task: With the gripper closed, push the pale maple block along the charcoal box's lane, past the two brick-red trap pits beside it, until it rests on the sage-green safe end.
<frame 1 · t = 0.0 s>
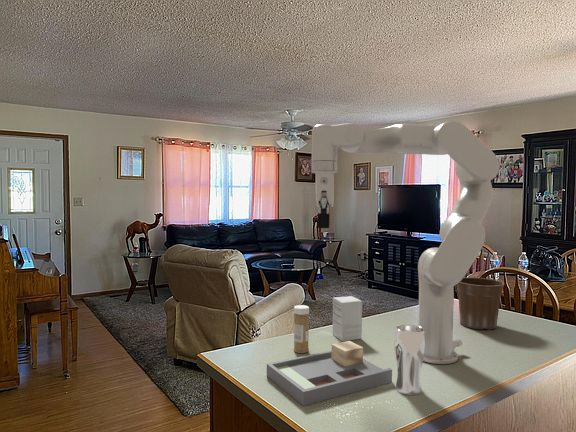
hand: (323, 226, 126), 37 cm above the table, tool pointing down, fingers open, 9 cm apart
plant pot: (477, 325, 157), on the table
maple block: (347, 360, 117), point 2 cm above the table, touching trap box
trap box: (328, 378, 110), on the table
sprinkles bottle: (301, 351, 129), on the table
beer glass: (408, 390, 104), on the table
supplement box: (346, 337, 142), on the table
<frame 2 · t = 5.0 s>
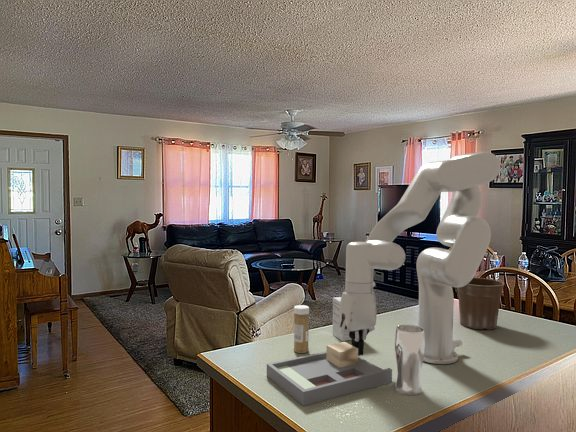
hand: (357, 353, 119), 3 cm above the table, tool pointing down, fingers closed
maple block: (342, 361, 116), point 2 cm above the table, touching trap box
everything else where it was.
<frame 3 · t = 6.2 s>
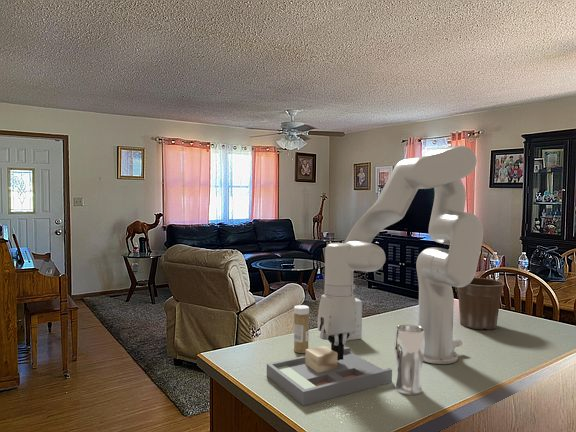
hand: (337, 358, 115), 3 cm above the table, tool pointing down, fingers closed
maple block: (321, 366, 113), point 2 cm above the table, touching gripper, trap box
everything else where it was.
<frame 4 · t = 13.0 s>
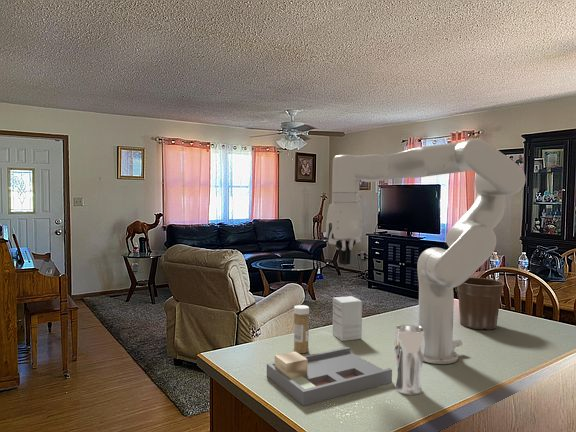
hand: (344, 263, 123), 27 cm above the table, tool pointing down, fingers closed
maple block: (290, 373, 108), point 2 cm above the table, touching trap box
everything else where it was.
at the end: maple block 0.2 cm from the target spot on the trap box, point 2.0 cm above the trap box's base; maple block tilted 0°; maple block moved 17.5 cm from its start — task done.
